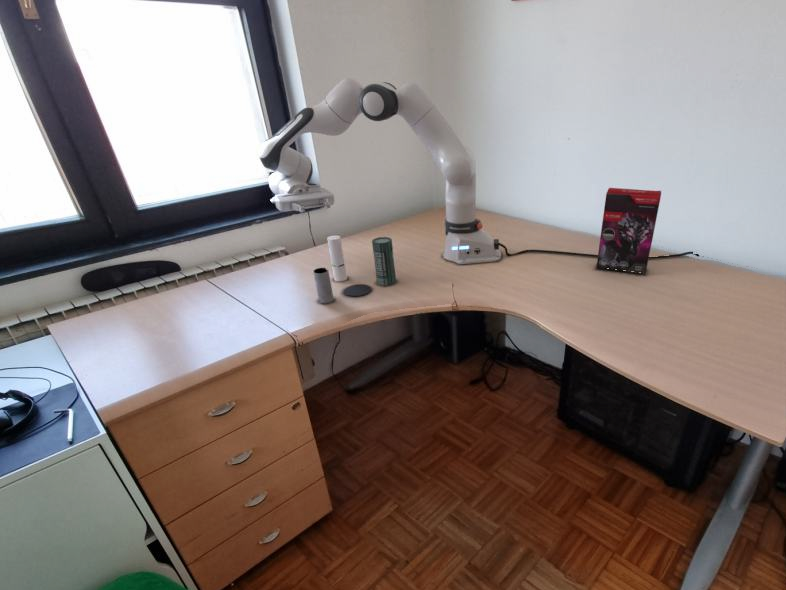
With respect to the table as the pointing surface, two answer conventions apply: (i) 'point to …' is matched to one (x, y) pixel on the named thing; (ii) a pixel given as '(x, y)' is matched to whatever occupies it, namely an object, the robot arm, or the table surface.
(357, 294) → the slate coaster
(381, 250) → the can
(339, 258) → the tube
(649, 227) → the graphics card box
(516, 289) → the table surface
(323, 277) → the grey hollow cylinder
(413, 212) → the table surface
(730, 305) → the table surface
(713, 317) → the table surface
